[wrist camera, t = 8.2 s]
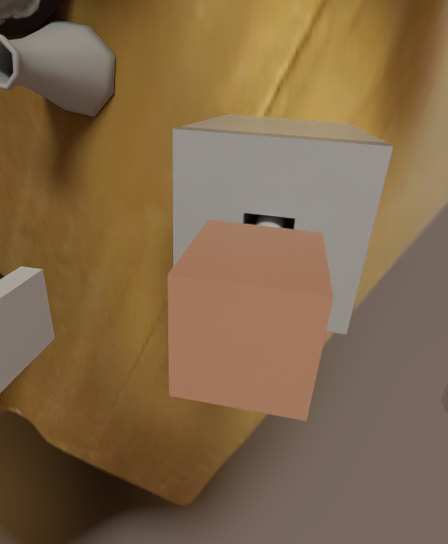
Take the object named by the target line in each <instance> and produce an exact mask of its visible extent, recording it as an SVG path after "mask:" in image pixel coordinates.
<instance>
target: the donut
mask: <svg viewBox="0 0 448 544" xmlns="http://www.w3.org/2000/svg"><path fill="white" fill-rule="evenodd" d="M60 1H61V0H0V34H4V35H17V34H23V33H28V32H31V31H33V30H35V29H36V28H38V27H39V26H41V25H42V24H44V23H45V22H47V20H48V19H49V18H50V16H51V15H52V14H53V12H54V11H55V10H56V8H57V7H58V6H59V4H60Z"/></svg>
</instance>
